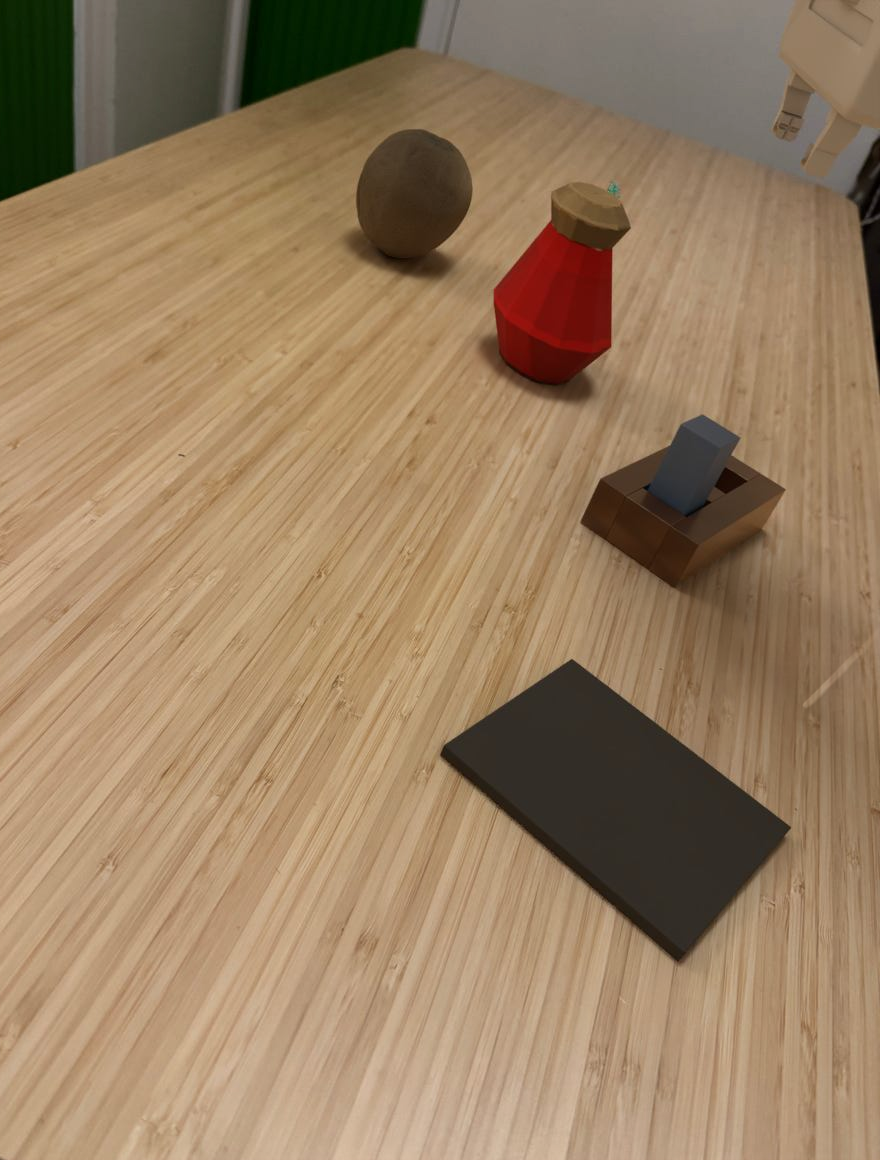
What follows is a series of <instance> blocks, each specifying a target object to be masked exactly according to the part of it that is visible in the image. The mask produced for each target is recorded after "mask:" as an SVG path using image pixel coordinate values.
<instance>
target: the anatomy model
mask: <svg viewBox="0 0 880 1160" xmlns="http://www.w3.org/2000/svg"><path fill="white" fill-rule="evenodd" d="M583 182H584V181H583ZM584 183H586V182H584ZM611 184H613V185H611ZM606 190H607V191H608V192H610V193H612V194H613V195H615V196H616V195H617V194H619V195H617V196H616V197H617V198H618V199H619V200H620V199H621V194H620V192H619V191H621V190H622V189H621V187H619V186H617V184H616V183H615V182H614V181H613V180H612V179H611V180H610V184H609V186H608V188H606Z"/></svg>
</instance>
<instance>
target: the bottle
mask: <svg viewBox="0 0 880 1160" xmlns="http://www.w3.org/2000/svg"><path fill="white" fill-rule="evenodd" d="M550 195H551V197H550V203H551V204H550V220H549V222H548V223H547V224H546V225H545V226H544V227H543V229H542V230H541V231H540V232H539V234H538V235H537V236H536V237H535V238H534V240H533V241H532V242H531V243H530V245H529V246H528V247H527V248H526V249H525V251H524V252H523V254H522V255H521V256H520V257H519V258H518V260H516V262H515V263H514V264H513V265H512V266H511V268H510V269H509V270H508V271H507V272H506V274H505V275H503V278H502V279H501V280H500V281H499V282H498V283H497V284H496V286H494V287H495V288H493V308H494V318H495V326H496V334H497V343H498V351H499V356H500V357H501V359H502V360H503V362H504V363H505V365H506V366H508V367H509V368H511V369H512V370H513V371H515V372H516V373H517V374H519V375H520V376H522V377H524V378H526V379H528V380H531V381H533V382H535V383H537V384H542V385H548V386H549V385H550V386H555V387H556V386H559V385H563V384H565V383H568V382H570V381H571V380H572V379H573V378H575V377H576V376H577V375H578V374H580V373H581V372H582V371H584V370H585V369H586V368H587V367H588V366H590V365H591V364H592V363H593V362H595V361H596V360H597V359H599V358H600V357H601V356H602V355H604V354H605V353H606V352H607V351H609V350H610V349H612V331H613V328H612V327H613V324H612V323H613V321H612V319H613V315H612V314H613V249H614V247H615V246H616V245H617V244H618V243H619V242H620V241H621V240H622V239H623V238H624V236H626V234H627V233H628V232H629V231H630V230H631V229H632V226H631V223H630V220H629V217H628V215H627V212H626V209H625V207H624V204H623V202H622V200H621V199H620V198H619V197H618V198H619V199H618V198H617V196H616V194H615V195H613V194H612V193H610V192H609V191H607V189H605V188H603V187H600V186H598V185H595V184H593V183H589V182H585V183H584V181H573V182H569V183H567V184H565V185H562V186H561V187H558V188H556V189H554V190H552V191H550Z"/></svg>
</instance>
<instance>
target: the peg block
mask: <svg viewBox="0 0 880 1160" xmlns="http://www.w3.org/2000/svg"><path fill="white" fill-rule="evenodd" d="M669 447H670V445H668V446H665V447H663V448H661V449H659V450H657V451H655V452H653V453H651V454H649V455H647V456H645V457H642V458H641V459H639V460H637V461H634V462H632V463H630V464H628V465H626V466H624V467H621V468H620V469H617V470H616V471H613V472H611V473H609V474H607V475H604V476H602V477H601V478H600V479H599V480H598V483H597V485H596V486H595V488H594V491H593V494H592V496H591V498H590V499H589V501H588V504H587V506H586V508H585V511H584V513H583V515H582V517H581V520H580V523H581V524H582V525H584V526H585V527H587V528H588V529H589V530H591V531H592V532H594V533H595V534H596V535H598V536H599V537H601V538H602V539H604V540H606V541H607V542H608V543H610V544H611V545H613V546H614V547H616V548H617V549H619V550H620V551H621V552H623V553H624V554H626V555H627V556H629V557H630V558H631V559H633V560H634V561H636V562H637V563H639V564H640V565H641V566H643V567H644V568H646V569H647V570H648V571H650V572H651V573H653V574H654V575H655V576H657V577H658V578H660V579H661V580H663V581H664V582H665V583H667V584H668V585H670V586H671V587H672V588H677V587H679V585H681V584H682V583H684V582H685V581H687V580H688V579H689V578H692V577H693V576H694V575H696V574H697V573H699V572H700V571H701V570H703V569H704V568H706V567H708V566H709V565H710V564H712V563H714V562H715V561H717V560H718V559H720V558H721V557H723V556H724V555H725V554H727V553H728V552H730V551H732V550H733V549H735V548H736V547H738V546H739V545H740V544H742V543H743V542H745V541H747V540H748V539H749V538H751V537H752V536H754V535H755V534H756V533H758V532H759V531H761V530H763V528H764V527H765V525H766V524H767V522H768V520H769V519H770V517H771V515H772V514H773V512H774V510H775V509H776V507H777V506H778V504H779V502H780V501H781V499H782V497H783V495H784V494H785V492H786V491H787V489H786V488H785V487H783V486H781V485H780V484H778V483H777V482H776V481H774V480H772V479H771V478H769V477H767V476H765V475H764V474H763V473H761V472H759V471H758V470H756V469H754V468H753V467H751V466H750V465H748V464H747V463H745V462H743V461H741V460H740V459H739V458H737V457H735V456H733V454H732V455H731V457H730V458H729V460H728V462H727V464H726V466H725V468H724V469H723V471H722V473H721V475H720V477H719V479H718V480H717V482H716V484H715V486H714V488H713V489H712V491H711V493H710V495H709V497H708V499H707V500H706V502H705V504H704V506H703V508H702V509H700V510H698V511H697V512H695V513H693V514H692V515H690V516H688V517H685V516H684V515H682V514H681V513H679V512H678V511H676V510H675V509H673V508H672V507H670V506H669V505H667V504H666V503H664V502H663V501H661V500H660V499H658V498H657V497H655V496H654V495H652V494H651V493H649V492H648V489H649V487H650V485H651V483H652V481H653V479H654V477H655V475H656V473H657V471H658V469H659V467H660V465H661V463H662V461H663V459H664V457H665V455H666V453H667V451H668V449H669Z"/></svg>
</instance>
